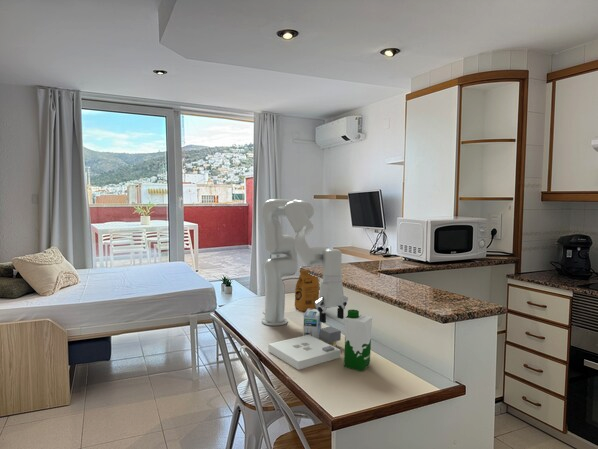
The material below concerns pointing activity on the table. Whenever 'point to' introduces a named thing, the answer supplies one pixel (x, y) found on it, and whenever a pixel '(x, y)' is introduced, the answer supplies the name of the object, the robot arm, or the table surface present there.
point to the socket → (304, 351)
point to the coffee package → (306, 291)
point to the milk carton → (357, 340)
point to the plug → (330, 335)
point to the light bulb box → (312, 323)
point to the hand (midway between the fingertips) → (331, 320)
